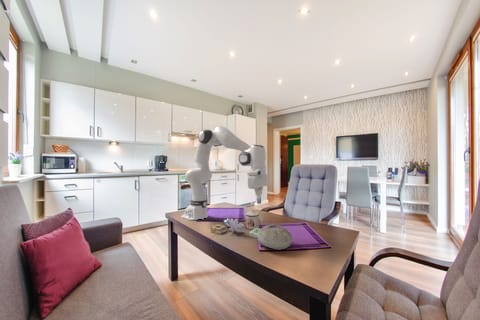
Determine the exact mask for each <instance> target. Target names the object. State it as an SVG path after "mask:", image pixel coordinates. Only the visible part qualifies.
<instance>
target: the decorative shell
mask: <svg viewBox="0 0 480 320" xmlns="http://www.w3.org/2000/svg"><path fill="white" fill-rule="evenodd" d="M259 229H260V231H259V232H258V238H257V239H258V241H259V243H260V245H262V246H264V247H266V248H271V249H272V250H273V249H274V250H276V251H278V250H284V249H285V250H286V248H287V249H288V247H290V246H291V244H292V242H293V236H292V233H291V232H290V231H289V230H288V229H287V228H285V227H284V226H282V225H277V224H273V223H272V224H268V225H267V224H266V225H265V226H263V227H261V228H259Z"/></svg>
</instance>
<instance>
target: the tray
mask: <svg viewBox="0 0 480 320" xmlns="http://www.w3.org/2000/svg"><path fill="white" fill-rule="evenodd" d="M260 229H261V228H260V227H259V228H255V229H251V230H250V231H248V238H249V237H250V238H255V239H258V232H259V231H260Z"/></svg>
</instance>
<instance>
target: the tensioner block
mask: <svg viewBox="0 0 480 320" xmlns="http://www.w3.org/2000/svg"><path fill="white" fill-rule="evenodd" d="M225 232H227V225H224V224H215V225H214V226H211V227H210V233H211V234H212V233H213V234H217V235H221V234H223V233H225Z"/></svg>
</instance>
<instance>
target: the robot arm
mask: <svg viewBox="0 0 480 320" xmlns="http://www.w3.org/2000/svg"><path fill="white" fill-rule="evenodd" d="M197 138H198V143H197V145H196V150H195V156H194V162H195V164H196V165H197V168H192V169H190V170H187V171H186V172H185V175H184V178H185V181H186V182H187V183H188V184H189V186H190V188H191V195H192V196H191V200H190V204H189V205H188V206H187V207H186V208H184V213H183V214H182V215H181V218H182V219H184V220H189V221H199V220H198V219H202V220H205V219H204V218H206V219H208V218H209V217H208V216H209V214H208V207H207V206H208V200H207V189H206V188H205V187H204V186H203V183H205V182H208V181H210V180H212V176H213V173H212V171H211V169H210V167H209V166H210V164H209V163H210V157H211V156H210V155H211V150H212V147H220V146H223V147H224V148H227V149H231V150H236V151H237V150H238V151H240V153H239V154H238V155H239V156H238V163H239V164H240V165H241V166H243V167H250V169H249V170H247V172H246V173H247V187H248V189H249V190H250V189H251V190H254V193H255V196H257V195H259V191H258V189H259V187H262V188H261V195H262V194H263V188H264V187H265V186H266V187H267V186H268V184H269V183H268V182H269V180H268V178H269V177H268V174H267V166H266V159H267V158H266V148H265V146H263V145H262V144H252V145H251V146H250V145H249V144H248V143H246V142H245V141H243V140H242V139H241V138H239V137H238V136H237V135H236V134H234V133H233V132H232V131H231V130H230V129H228V128H227V127H226V126H224V125H218V126H216V127H215V129H214V130H211V129H202V130H200V131H199V133H198V136H197ZM207 217H208V218H207Z"/></svg>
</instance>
